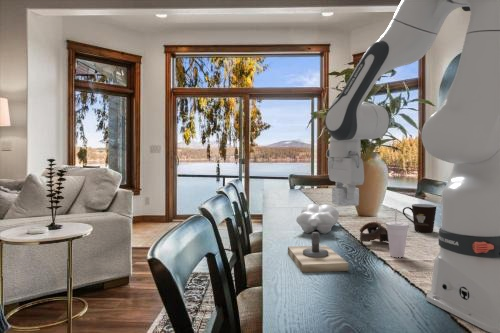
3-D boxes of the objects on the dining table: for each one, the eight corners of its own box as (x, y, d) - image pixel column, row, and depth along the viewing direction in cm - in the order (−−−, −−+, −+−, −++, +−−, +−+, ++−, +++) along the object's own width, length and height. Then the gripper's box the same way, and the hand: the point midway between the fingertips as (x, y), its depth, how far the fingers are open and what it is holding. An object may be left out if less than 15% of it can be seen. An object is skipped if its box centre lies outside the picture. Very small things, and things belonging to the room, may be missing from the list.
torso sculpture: (302, 227, 160) (291, 235, 131) (302, 203, 161) (291, 205, 132) (339, 229, 156) (336, 237, 127) (339, 204, 157) (336, 206, 128)
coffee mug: (441, 232, 139) (441, 206, 139) (424, 234, 136) (424, 207, 135) (417, 226, 150) (417, 202, 149) (400, 228, 147) (401, 203, 146)
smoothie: (380, 254, 109) (381, 207, 109) (397, 252, 111) (398, 206, 111) (396, 260, 103) (396, 210, 103) (413, 258, 105) (414, 209, 105)
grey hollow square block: (358, 205, 106) (358, 188, 106) (338, 205, 106) (338, 188, 105) (351, 202, 112) (351, 186, 112) (332, 203, 111) (332, 186, 111)
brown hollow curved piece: (397, 248, 118) (387, 227, 116) (369, 260, 119) (359, 240, 117) (385, 231, 129) (376, 212, 127) (360, 242, 131) (351, 223, 129)
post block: (348, 270, 94) (348, 239, 94) (302, 272, 93) (302, 241, 93) (326, 251, 112) (326, 226, 112) (287, 253, 111) (287, 227, 111)
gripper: (370, 151, 98) (370, 202, 99) (343, 151, 119) (343, 194, 119) (347, 151, 98) (347, 202, 98) (324, 152, 118) (324, 194, 118)
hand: (345, 198), depth 109 cm, fingers closed on grey hollow square block, 6 cm apart
